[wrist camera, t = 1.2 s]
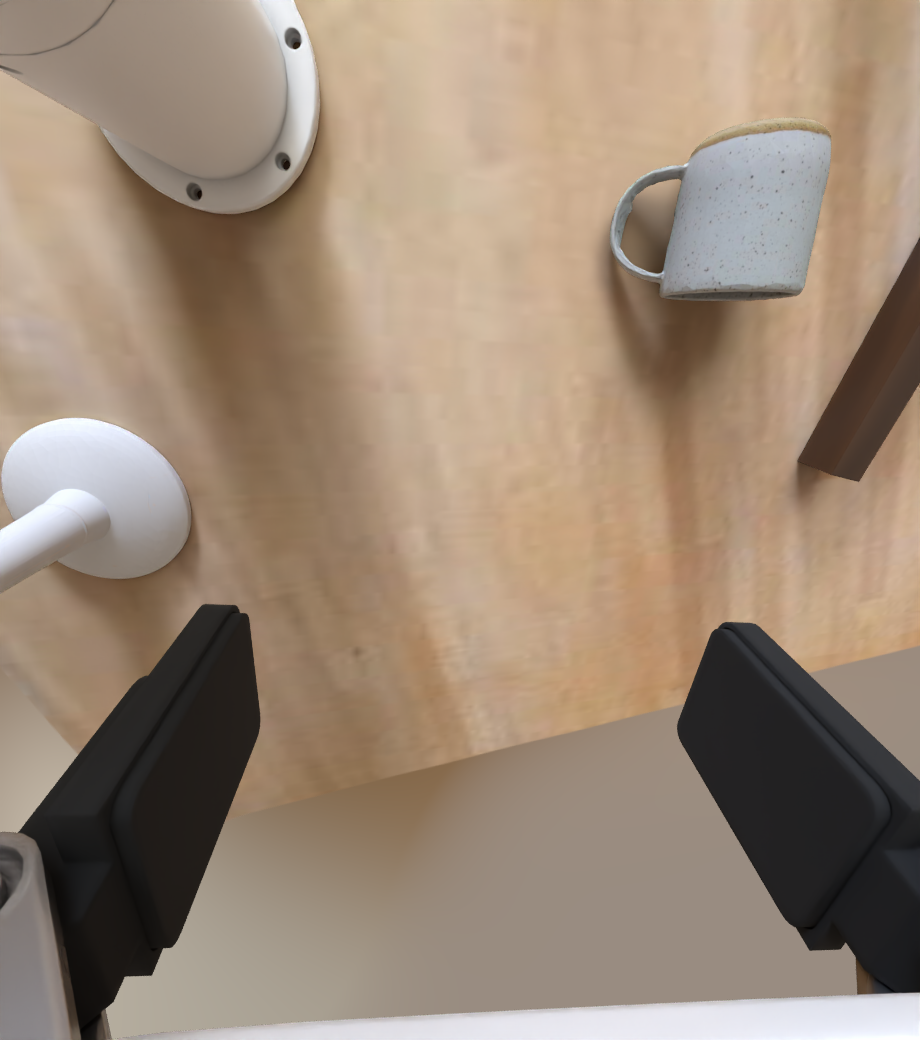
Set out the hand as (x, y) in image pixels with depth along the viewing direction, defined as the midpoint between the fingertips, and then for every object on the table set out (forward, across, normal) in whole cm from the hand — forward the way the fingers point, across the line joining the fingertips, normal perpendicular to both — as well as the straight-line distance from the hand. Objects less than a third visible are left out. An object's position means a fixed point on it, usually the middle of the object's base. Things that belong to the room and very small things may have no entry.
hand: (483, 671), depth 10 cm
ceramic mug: (+28, -15, -12) cm, 34 cm away
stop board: (+27, -32, -10) cm, 43 cm away
